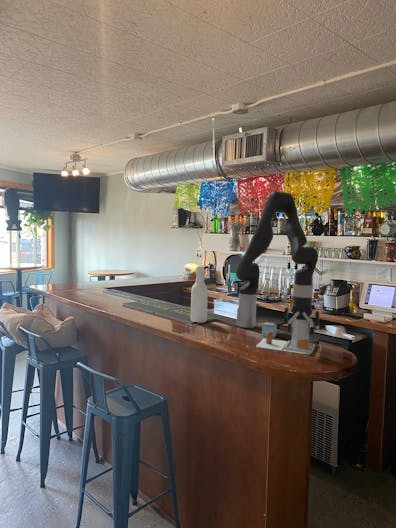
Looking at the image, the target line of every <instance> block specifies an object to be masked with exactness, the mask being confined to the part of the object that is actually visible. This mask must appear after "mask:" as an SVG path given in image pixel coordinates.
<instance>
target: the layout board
mask: <svg viewBox="0 0 396 528" xmlns="http://www.w3.org/2000/svg"><path fill="white" fill-rule="evenodd" d="M291 341H292V340H288V341H287V340H281V339H273V338H272V332H270V331H267V335H266V337H264V338H262V339H261V340H260V342H258V343H257V344H256V346H255V347H256V348H263V349H268V350H269V349H270V350H276V351H284V352H290V353H295V354H296V353H297V354H304V355H309V356H310V355H311V354H313V352H314V350H315V348H316V343H311V342H309V347H308V348H294V347H292V346H291Z"/></svg>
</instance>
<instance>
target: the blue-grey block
mask: <svg viewBox="0 0 396 528" xmlns="http://www.w3.org/2000/svg"><path fill="white" fill-rule="evenodd" d="M277 326H278V324H277V322H268V321H264V322H263V323H262V325H261V337H264V338H266V335H267V331H270V332H272V339H273V338H276V337H277V329H278V327H277Z"/></svg>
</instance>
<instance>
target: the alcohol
mask: <svg viewBox="0 0 396 528" xmlns="http://www.w3.org/2000/svg"><path fill="white" fill-rule="evenodd" d="M204 270H205V267H204V265H196V274H195V275H196V276H195V282H194V284H193V285H192V286H191V293H190V294H191V296H190V298H191V299H190V322H192V323H194V322H197V323H196V324H204V323H206V322H207V320H208V319H207V318H208V295H209V293H208V292H209V290H208V286H207V284H206V283H205V271H204Z"/></svg>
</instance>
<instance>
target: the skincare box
mask: <svg viewBox="0 0 396 528" xmlns="http://www.w3.org/2000/svg"><path fill="white" fill-rule="evenodd" d="M310 327H311V325H310V324H309V322H308V321H307V320H301V319H296V318H295V319H294V320H293V321H292V331H291V340H290V341H291V346H292V347H294V348H308V347H309V343H310Z"/></svg>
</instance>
